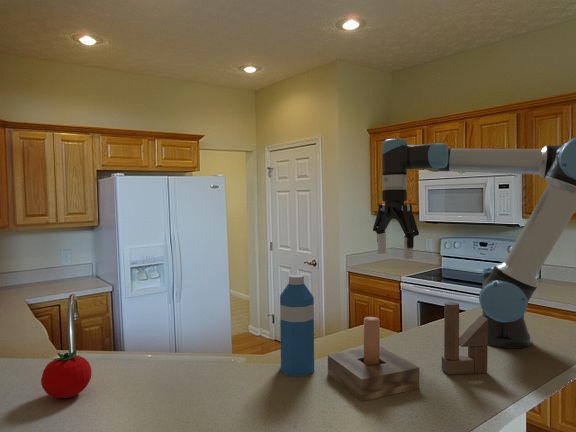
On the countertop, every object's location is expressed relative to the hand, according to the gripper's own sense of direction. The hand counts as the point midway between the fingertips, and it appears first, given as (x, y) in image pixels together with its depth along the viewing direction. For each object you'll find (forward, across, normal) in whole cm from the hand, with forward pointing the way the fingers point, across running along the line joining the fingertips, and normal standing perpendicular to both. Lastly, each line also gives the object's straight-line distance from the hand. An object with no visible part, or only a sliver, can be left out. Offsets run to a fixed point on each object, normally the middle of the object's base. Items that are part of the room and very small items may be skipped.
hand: (394, 256), depth 133 cm
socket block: (+27, +23, -24) cm, 43 cm away
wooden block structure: (+27, +28, +1) cm, 39 cm away
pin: (+25, +23, -24) cm, 42 cm away
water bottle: (+27, +9, -38) cm, 47 cm away
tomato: (+27, +1, -93) cm, 97 cm away
